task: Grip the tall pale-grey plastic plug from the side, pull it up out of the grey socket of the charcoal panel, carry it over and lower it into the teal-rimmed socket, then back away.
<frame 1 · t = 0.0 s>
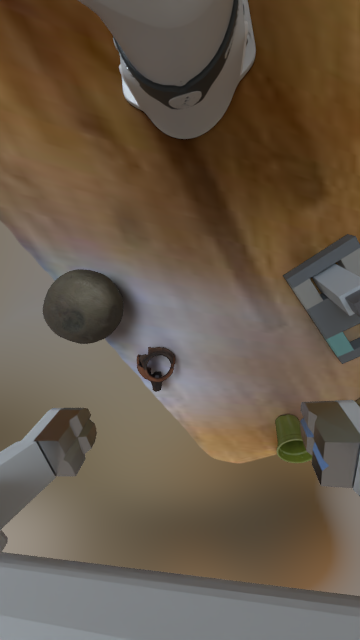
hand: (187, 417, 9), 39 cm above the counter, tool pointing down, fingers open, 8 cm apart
plant pot: (286, 420, 62), on the counter
plug: (325, 276, 43), resting in panel
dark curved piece: (157, 359, 58), on the counter
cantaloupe: (104, 291, 50), on the counter
panel: (341, 303, 45), on the counter
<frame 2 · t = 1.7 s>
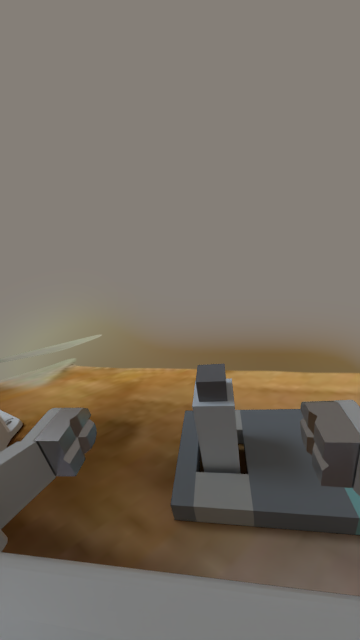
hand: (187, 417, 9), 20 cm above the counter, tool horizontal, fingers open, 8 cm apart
plug: (222, 463, 27), resting in panel
panel: (284, 465, 26), on the counter
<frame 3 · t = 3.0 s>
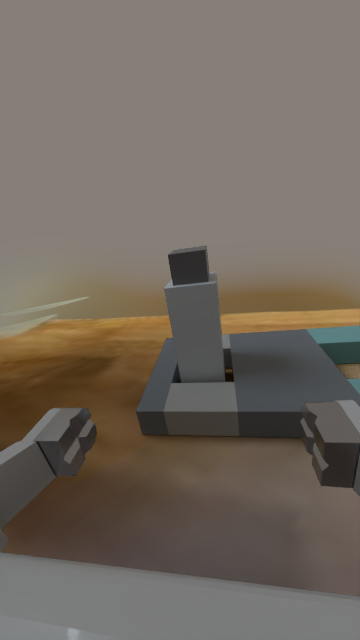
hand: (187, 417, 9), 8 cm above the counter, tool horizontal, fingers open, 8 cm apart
plug: (205, 384, 23), resting in panel
panel: (278, 382, 22), on the counter
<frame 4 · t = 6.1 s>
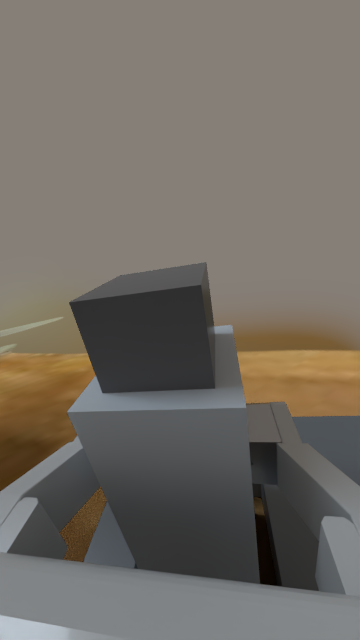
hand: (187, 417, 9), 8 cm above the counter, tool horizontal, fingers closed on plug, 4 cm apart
plug: (211, 558, 11), resting in panel, touching gripper
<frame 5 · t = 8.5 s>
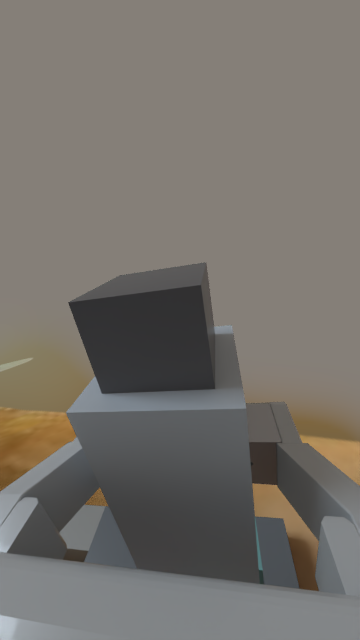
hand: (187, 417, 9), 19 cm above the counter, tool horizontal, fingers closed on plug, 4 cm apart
plug: (210, 558, 11), point 12 cm above the counter, touching gripper
panel: (131, 624, 16), on the counter
when the fingers open (9 cm above the counter, at t = 11.3 s): plug drops 1 cm, resting in panel.
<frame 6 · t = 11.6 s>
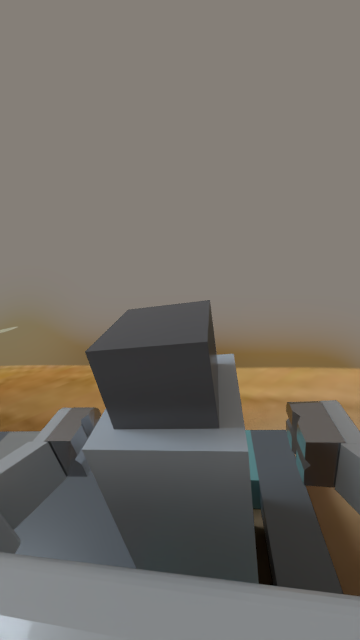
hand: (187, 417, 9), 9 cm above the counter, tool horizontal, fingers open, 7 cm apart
plug: (212, 571, 11), resting in panel
panel: (85, 555, 12), on the counter
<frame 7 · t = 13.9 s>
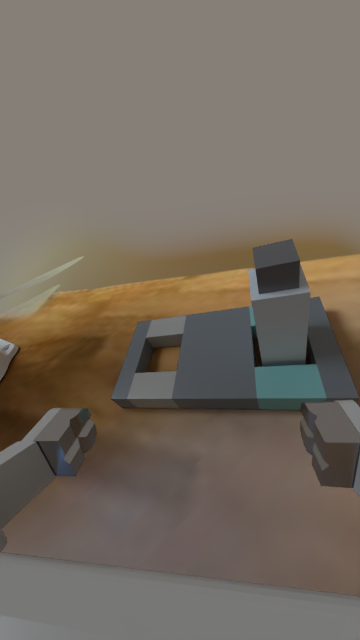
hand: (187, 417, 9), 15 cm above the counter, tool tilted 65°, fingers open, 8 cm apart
plug: (280, 356, 25), resting in panel
panel: (218, 359, 27), on the counter
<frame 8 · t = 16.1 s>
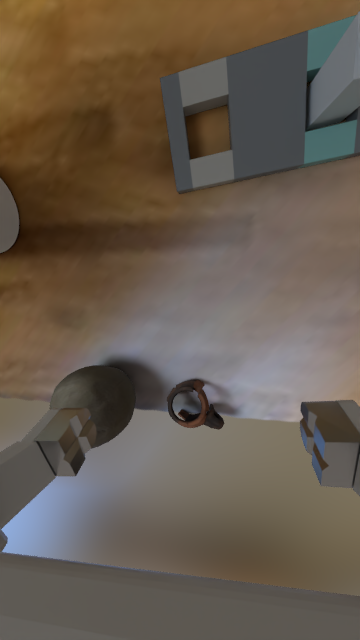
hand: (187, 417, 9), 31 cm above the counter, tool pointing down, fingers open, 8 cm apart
plug: (322, 107, 27), resting in panel
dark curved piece: (196, 397, 48), on the counter
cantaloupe: (113, 377, 49), on the counter
panel: (262, 122, 29), on the counter
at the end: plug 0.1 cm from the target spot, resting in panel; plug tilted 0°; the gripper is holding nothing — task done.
